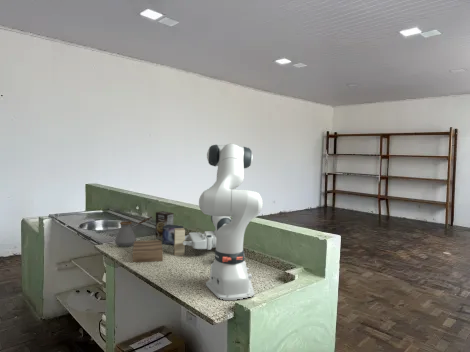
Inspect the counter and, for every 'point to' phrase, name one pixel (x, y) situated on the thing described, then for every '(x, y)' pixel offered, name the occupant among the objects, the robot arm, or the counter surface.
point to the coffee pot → (127, 233)
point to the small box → (169, 234)
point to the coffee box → (163, 222)
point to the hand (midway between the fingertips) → (181, 240)
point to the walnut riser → (147, 251)
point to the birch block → (179, 241)
